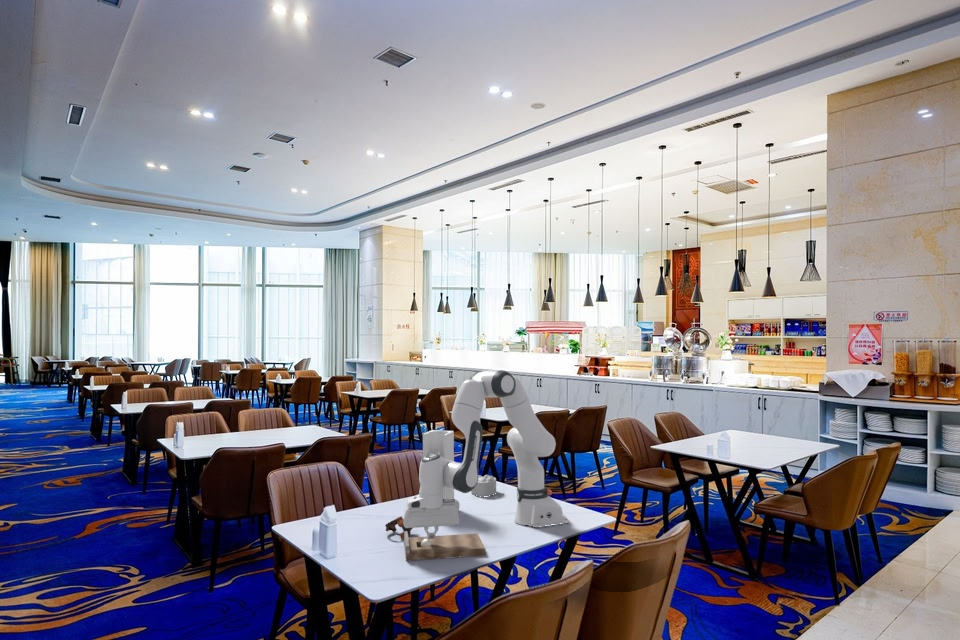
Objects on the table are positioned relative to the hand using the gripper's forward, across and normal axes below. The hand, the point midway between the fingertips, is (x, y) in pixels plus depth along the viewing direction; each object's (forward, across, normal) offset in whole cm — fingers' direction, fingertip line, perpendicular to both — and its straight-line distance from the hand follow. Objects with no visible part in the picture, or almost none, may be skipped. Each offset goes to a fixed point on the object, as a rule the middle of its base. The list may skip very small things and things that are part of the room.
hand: (431, 538), depth 210 cm
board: (+4, -4, 0) cm, 6 cm away
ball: (+2, +2, 0) cm, 3 cm away
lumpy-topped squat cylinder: (+5, -33, -72) cm, 80 cm away
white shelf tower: (+5, -8, -48) cm, 49 cm away
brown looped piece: (+5, +10, -19) cm, 22 cm away
